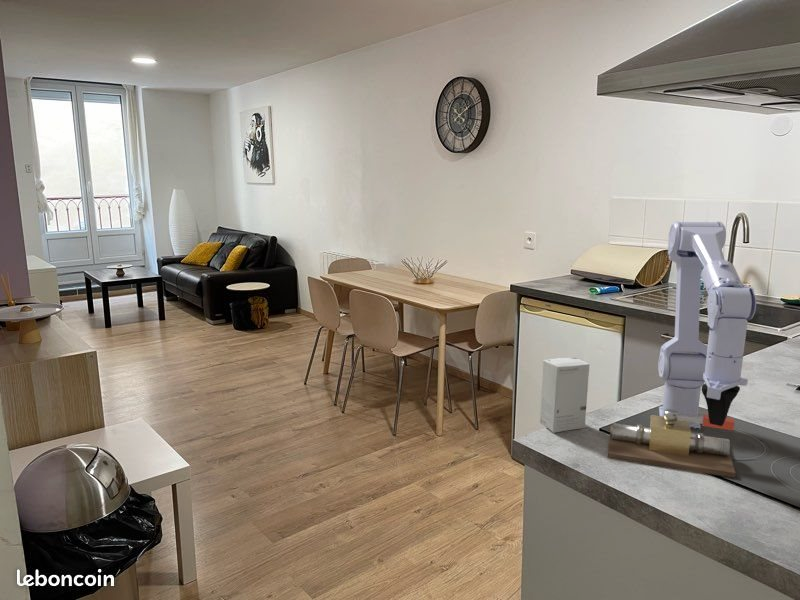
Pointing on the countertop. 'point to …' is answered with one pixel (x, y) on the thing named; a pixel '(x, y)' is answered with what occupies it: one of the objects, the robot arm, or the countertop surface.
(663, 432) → the valve housing
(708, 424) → the valve lever
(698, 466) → the base board
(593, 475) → the countertop surface
